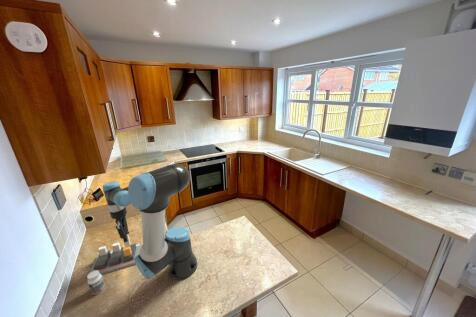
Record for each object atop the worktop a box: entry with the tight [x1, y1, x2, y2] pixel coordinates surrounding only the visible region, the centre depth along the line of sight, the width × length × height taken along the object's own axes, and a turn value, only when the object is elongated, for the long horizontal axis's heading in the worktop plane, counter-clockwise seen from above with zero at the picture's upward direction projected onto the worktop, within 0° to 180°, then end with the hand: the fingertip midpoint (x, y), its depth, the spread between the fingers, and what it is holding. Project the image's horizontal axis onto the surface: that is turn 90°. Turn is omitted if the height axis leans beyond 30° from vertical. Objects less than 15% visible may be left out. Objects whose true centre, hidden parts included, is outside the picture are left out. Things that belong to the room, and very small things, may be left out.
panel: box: [88, 241, 143, 276], centre depth 111 cm, size 16×24×8 cm, turn 110°
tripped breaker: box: [123, 246, 132, 257], centre depth 109 cm, size 2×3×4 cm
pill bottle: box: [86, 270, 106, 296], centre depth 92 cm, size 6×6×10 cm
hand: (127, 245), depth 110 cm, fingers closed
